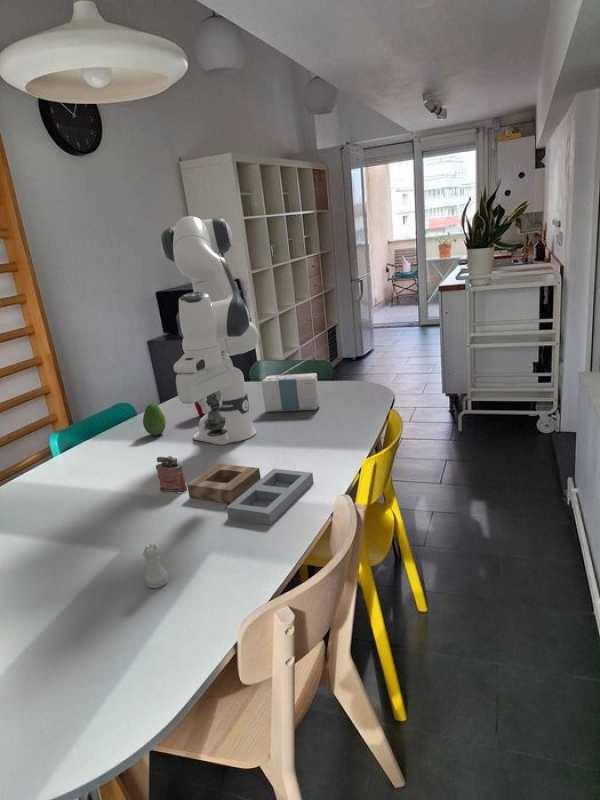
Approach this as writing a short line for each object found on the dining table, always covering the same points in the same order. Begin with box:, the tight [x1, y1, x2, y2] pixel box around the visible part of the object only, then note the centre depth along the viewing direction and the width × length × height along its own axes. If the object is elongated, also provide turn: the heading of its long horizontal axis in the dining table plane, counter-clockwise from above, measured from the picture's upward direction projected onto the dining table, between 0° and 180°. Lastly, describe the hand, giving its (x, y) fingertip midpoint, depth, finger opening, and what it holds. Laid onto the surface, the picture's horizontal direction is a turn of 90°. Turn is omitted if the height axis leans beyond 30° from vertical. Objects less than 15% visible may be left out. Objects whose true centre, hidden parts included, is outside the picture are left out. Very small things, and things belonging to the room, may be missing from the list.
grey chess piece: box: [204, 393, 227, 437], centre depth 142 cm, size 6×6×12 cm
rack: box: [225, 468, 314, 526], centre depth 139 cm, size 12×23×3 cm, turn 153°
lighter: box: [155, 455, 188, 494], centre depth 151 cm, size 8×3×10 cm, turn 71°
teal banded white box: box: [261, 356, 321, 413], centre depth 210 cm, size 21×8×20 cm, turn 77°
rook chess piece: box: [142, 543, 169, 589], centre depth 109 cm, size 4×4×8 cm
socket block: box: [186, 463, 262, 505], centre depth 148 cm, size 14×14×4 cm
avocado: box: [142, 402, 166, 437], centre depth 200 cm, size 8×8×12 cm
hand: (212, 409), depth 142 cm, fingers closed on grey chess piece, 4 cm apart
